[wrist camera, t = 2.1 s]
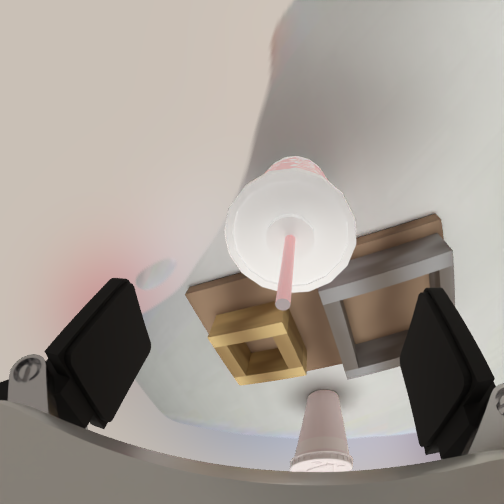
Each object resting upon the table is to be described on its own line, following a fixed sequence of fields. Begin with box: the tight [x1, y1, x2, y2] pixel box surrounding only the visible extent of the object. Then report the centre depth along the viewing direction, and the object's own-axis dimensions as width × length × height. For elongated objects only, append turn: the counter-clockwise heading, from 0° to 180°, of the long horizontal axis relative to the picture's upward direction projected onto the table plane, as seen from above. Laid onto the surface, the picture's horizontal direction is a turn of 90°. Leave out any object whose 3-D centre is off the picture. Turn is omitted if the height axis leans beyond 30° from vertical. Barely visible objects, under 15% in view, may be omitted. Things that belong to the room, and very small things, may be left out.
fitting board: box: [185, 214, 455, 385], centre depth 24 cm, size 22×12×4 cm, turn 113°
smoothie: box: [290, 390, 353, 472], centre depth 26 cm, size 6×6×14 cm
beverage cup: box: [224, 156, 356, 311], centre depth 15 cm, size 6×6×14 cm
